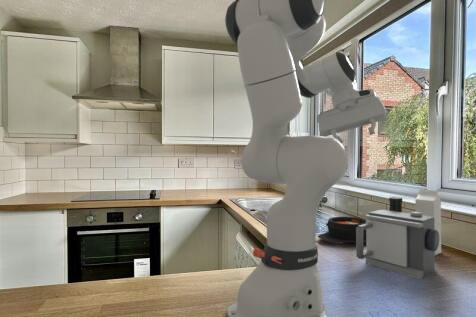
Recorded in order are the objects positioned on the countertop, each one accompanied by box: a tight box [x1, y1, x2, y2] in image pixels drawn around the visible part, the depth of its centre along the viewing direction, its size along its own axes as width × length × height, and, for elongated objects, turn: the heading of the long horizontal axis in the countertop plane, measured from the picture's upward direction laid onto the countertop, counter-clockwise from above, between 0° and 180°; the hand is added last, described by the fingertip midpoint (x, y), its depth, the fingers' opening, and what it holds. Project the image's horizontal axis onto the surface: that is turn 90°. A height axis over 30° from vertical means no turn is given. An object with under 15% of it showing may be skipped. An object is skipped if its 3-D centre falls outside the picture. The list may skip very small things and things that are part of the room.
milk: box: [414, 189, 442, 256], centre depth 105 cm, size 6×6×22 cm
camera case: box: [364, 209, 439, 280], centre depth 91 cm, size 10×18×17 cm, turn 37°
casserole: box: [317, 216, 366, 245], centre depth 121 cm, size 25×19×8 cm
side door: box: [355, 219, 407, 267], centre depth 89 cm, size 8×12×12 cm
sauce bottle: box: [388, 196, 403, 212], centre depth 104 cm, size 7×6×20 cm
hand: (355, 137), depth 90 cm, fingers open, 8 cm apart
